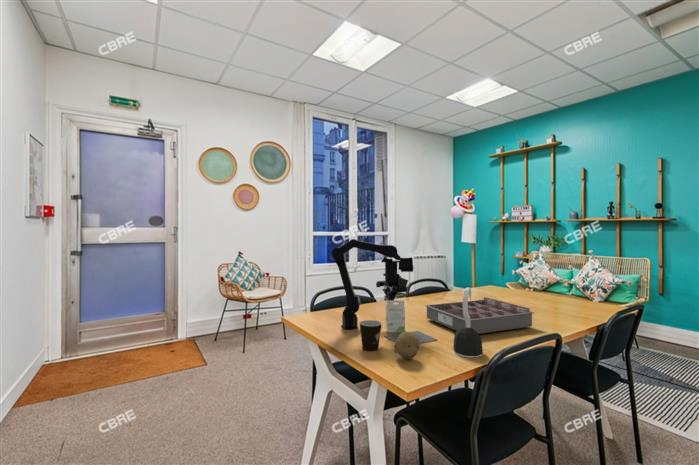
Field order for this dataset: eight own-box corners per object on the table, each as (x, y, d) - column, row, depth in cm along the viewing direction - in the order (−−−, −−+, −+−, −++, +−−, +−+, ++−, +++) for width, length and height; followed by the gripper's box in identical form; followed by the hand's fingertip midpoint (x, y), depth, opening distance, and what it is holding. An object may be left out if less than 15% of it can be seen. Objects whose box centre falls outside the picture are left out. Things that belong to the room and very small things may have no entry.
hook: (456, 345, 136) (456, 284, 136) (485, 350, 130) (485, 286, 130) (449, 354, 126) (449, 288, 126) (480, 360, 120) (480, 291, 120)
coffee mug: (366, 353, 127) (366, 327, 127) (355, 346, 135) (355, 321, 134) (391, 348, 132) (392, 323, 132) (380, 342, 140) (380, 318, 140)
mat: (402, 346, 134) (402, 345, 134) (384, 336, 147) (384, 335, 147) (437, 340, 142) (437, 339, 142) (417, 331, 155) (417, 330, 155)
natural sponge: (423, 364, 117) (423, 335, 117) (398, 365, 116) (398, 336, 116) (416, 354, 126) (416, 328, 126) (392, 355, 125) (392, 328, 125)
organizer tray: (424, 320, 174) (424, 301, 174) (484, 313, 189) (484, 296, 189) (466, 339, 144) (466, 316, 144) (534, 329, 159) (534, 308, 159)
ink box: (404, 329, 158) (404, 298, 157) (405, 332, 153) (405, 300, 153) (385, 329, 158) (386, 298, 158) (386, 332, 153) (386, 300, 153)
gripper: (417, 273, 154) (417, 306, 154) (394, 268, 171) (394, 299, 171) (396, 274, 149) (396, 309, 149) (375, 269, 166) (375, 301, 166)
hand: (391, 304), depth 159 cm, fingers closed
